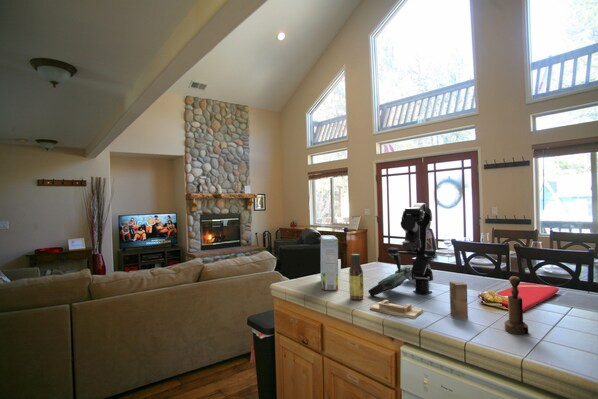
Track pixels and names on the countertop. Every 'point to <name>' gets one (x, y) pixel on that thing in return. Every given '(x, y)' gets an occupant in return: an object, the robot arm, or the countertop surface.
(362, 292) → the sauce bottle
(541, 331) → the countertop surface
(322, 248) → the snack box
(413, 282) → the chinaware
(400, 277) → the teal curved piece
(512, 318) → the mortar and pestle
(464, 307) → the walnut board piece
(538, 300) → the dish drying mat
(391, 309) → the oak base board
